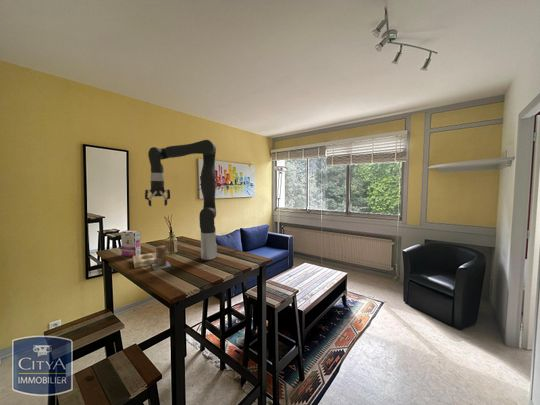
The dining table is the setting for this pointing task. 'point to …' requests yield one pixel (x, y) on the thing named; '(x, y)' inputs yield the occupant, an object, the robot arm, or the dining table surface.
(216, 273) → the dining table surface
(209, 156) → the robot arm
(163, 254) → the walnut block
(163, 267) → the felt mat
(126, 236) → the candy bar box
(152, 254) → the pocket frame
